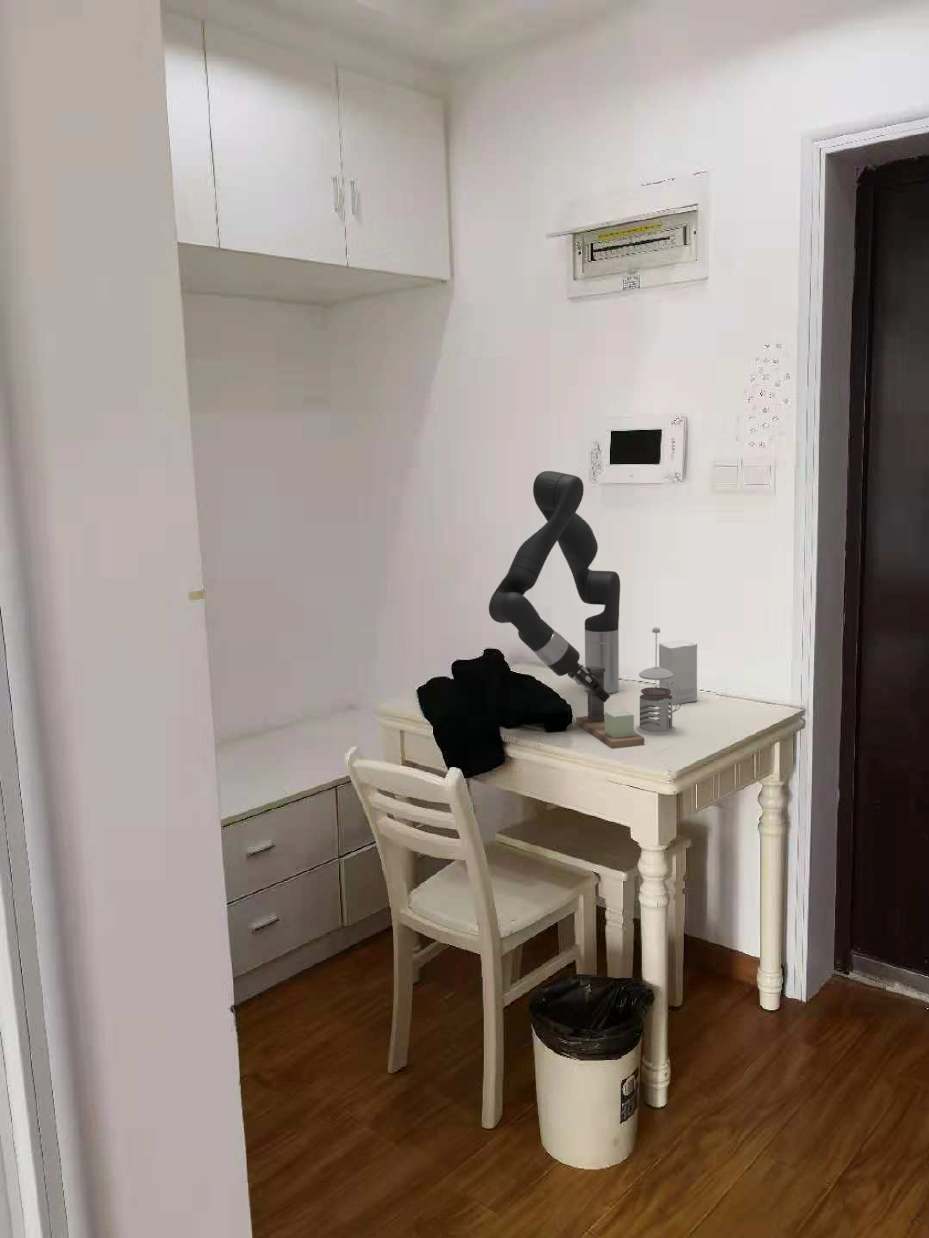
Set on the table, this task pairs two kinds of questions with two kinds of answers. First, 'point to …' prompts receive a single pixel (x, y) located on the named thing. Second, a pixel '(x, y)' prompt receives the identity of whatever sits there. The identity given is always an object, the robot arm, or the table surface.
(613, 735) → the sage block
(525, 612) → the robot arm
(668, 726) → the french press
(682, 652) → the skincare box
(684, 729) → the table surface
